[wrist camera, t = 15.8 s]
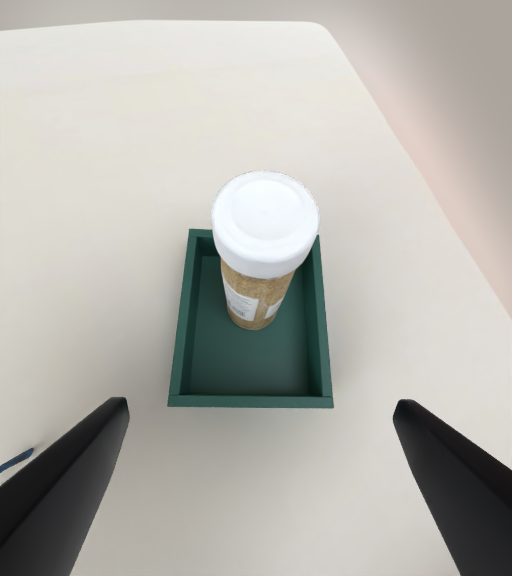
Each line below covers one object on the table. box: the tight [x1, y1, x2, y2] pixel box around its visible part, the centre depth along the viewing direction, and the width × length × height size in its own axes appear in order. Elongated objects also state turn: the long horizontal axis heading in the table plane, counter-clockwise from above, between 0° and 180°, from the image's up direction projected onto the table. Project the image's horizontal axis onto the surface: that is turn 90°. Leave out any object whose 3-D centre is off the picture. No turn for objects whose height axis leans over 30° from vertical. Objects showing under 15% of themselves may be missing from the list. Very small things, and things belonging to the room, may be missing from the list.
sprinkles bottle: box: [211, 171, 320, 330], centre depth 17 cm, size 5×5×14 cm
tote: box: [167, 229, 334, 408], centre depth 21 cm, size 13×11×4 cm
